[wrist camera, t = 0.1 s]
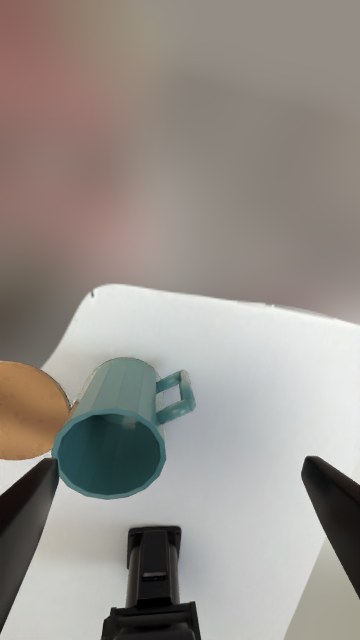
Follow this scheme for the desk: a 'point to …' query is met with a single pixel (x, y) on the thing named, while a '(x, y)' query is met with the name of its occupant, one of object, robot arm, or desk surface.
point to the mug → (119, 429)
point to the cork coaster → (29, 411)
